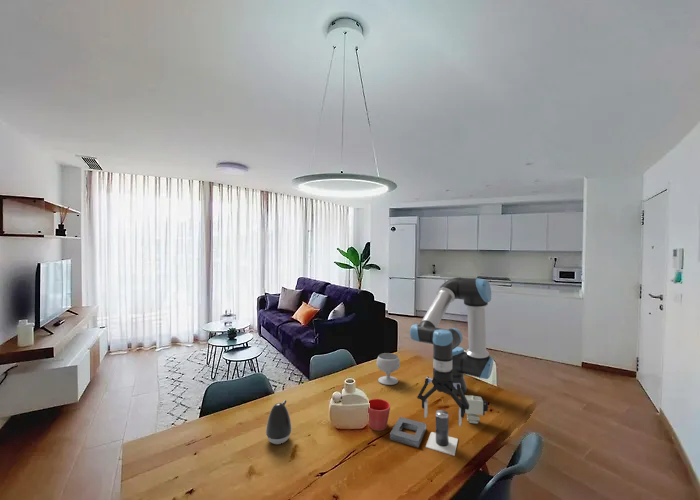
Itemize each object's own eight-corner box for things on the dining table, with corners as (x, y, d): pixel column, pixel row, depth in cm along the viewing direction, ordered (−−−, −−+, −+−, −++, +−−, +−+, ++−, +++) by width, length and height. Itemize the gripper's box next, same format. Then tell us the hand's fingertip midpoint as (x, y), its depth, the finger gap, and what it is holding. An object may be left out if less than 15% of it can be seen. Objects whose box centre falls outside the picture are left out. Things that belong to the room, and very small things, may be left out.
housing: (399, 422, 140) (399, 416, 140) (426, 429, 134) (426, 423, 134) (389, 439, 127) (389, 433, 127) (418, 447, 122) (418, 441, 122)
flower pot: (376, 416, 145) (376, 396, 145) (394, 426, 137) (395, 404, 137) (360, 425, 137) (361, 403, 137) (379, 436, 129) (379, 413, 129)
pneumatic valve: (487, 426, 137) (488, 399, 137) (460, 423, 139) (460, 396, 139) (485, 419, 142) (485, 393, 142) (458, 416, 145) (458, 391, 145)
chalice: (377, 375, 191) (377, 351, 191) (399, 377, 189) (399, 352, 189) (375, 385, 177) (376, 359, 177) (400, 387, 175) (400, 361, 175)
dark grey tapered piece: (296, 435, 130) (296, 399, 130) (283, 450, 120) (283, 412, 120) (275, 430, 133) (275, 395, 133) (260, 445, 123) (261, 407, 123)
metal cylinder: (436, 437, 128) (436, 408, 128) (449, 440, 126) (449, 411, 126) (434, 444, 124) (434, 414, 123) (447, 447, 121) (447, 417, 121)
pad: (431, 432, 132) (431, 431, 132) (457, 439, 127) (457, 438, 127) (425, 447, 122) (425, 446, 122) (454, 455, 117) (454, 454, 117)
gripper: (410, 366, 127) (410, 417, 127) (474, 378, 116) (474, 433, 116) (414, 360, 133) (414, 408, 134) (476, 370, 122) (476, 423, 123)
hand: (442, 420), depth 125 cm, fingers open, 13 cm apart
